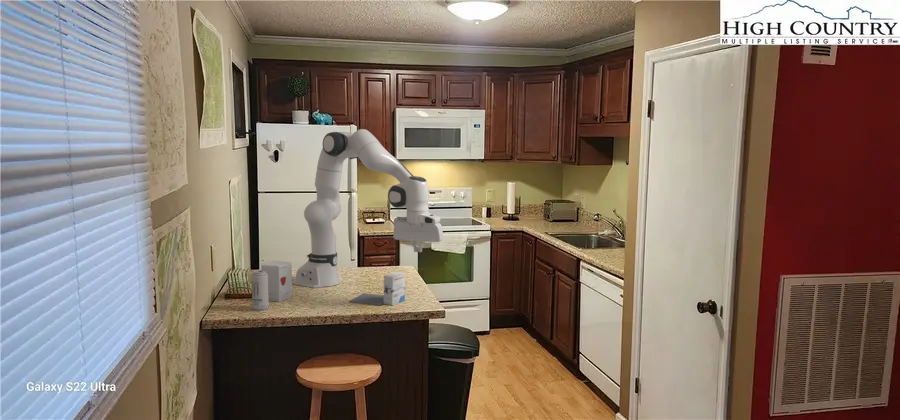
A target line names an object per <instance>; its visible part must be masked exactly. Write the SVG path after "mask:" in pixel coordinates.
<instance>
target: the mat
mask: <svg viewBox="0 0 900 420" xmlns="http://www.w3.org/2000/svg"><path fill="white" fill-rule="evenodd" d="M348 303H353V304H354V303H355V304H363V305H372V306H378V307H379V306H380V307H381V306H382V305H384V294H374V293H364V292H363V293H362V294H359V295H358V296H356V297H354V298H352V299H351V300H349V301H348Z"/></svg>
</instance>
